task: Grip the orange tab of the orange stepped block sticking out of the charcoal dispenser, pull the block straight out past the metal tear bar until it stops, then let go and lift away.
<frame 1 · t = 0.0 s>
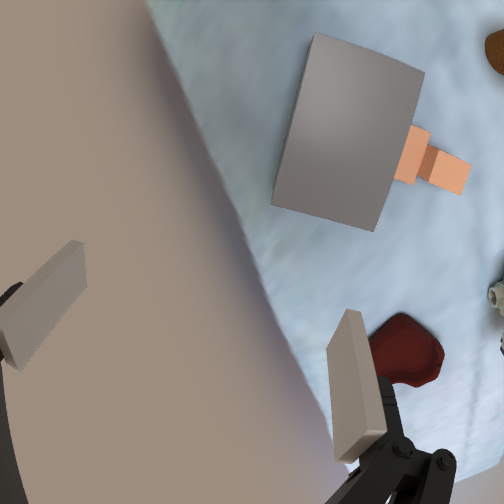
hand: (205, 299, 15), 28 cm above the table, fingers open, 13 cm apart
disposable coffee cup: (500, 53, 27), on the table
ball valve: (503, 284, 44), on the table
orange stepped block: (400, 151, 32), point 4 cm above the table, slide at 0.0 cm
dispenser: (383, 142, 36), on the table
ashtray: (394, 343, 52), on the table
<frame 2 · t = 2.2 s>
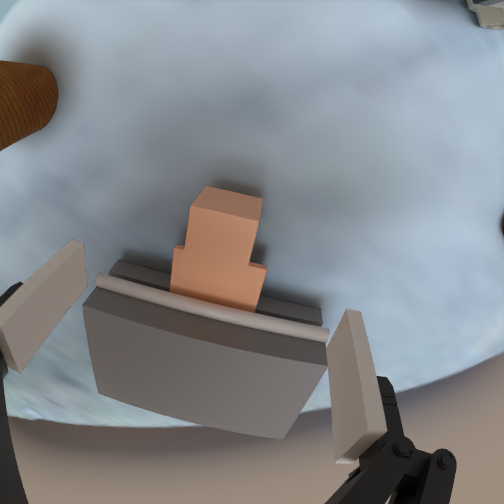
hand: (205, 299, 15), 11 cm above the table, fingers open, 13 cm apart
disposable coffee cup: (34, 98, 21), on the table
orange stepped block: (208, 309, 24), point 4 cm above the table, slide at 0.0 cm
dispenser: (217, 285, 28), on the table
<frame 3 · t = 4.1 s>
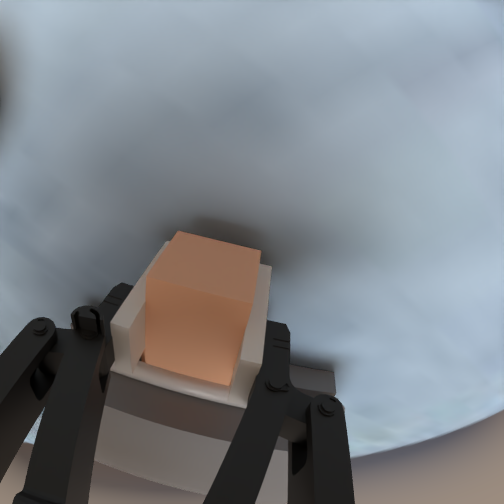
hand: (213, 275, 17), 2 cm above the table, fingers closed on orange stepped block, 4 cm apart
orange stepped block: (189, 387, 17), point 4 cm above the table, slide at 0.0 cm, touching gripper
dispenser: (203, 345, 22), on the table
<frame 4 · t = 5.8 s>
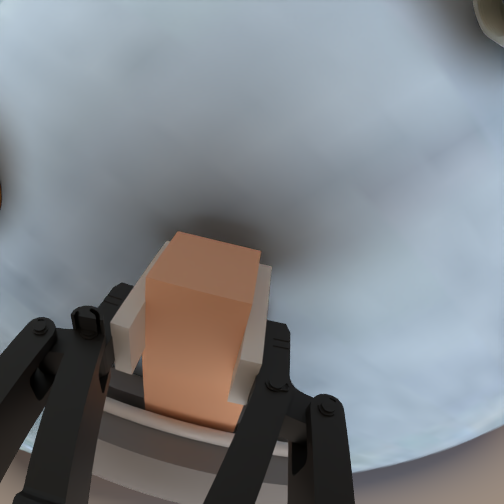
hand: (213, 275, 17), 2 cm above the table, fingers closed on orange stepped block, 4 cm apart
orange stepped block: (190, 387, 17), point 4 cm above the table, slide at 6.0 cm, touching gripper
dispenser: (196, 392, 24), on the table
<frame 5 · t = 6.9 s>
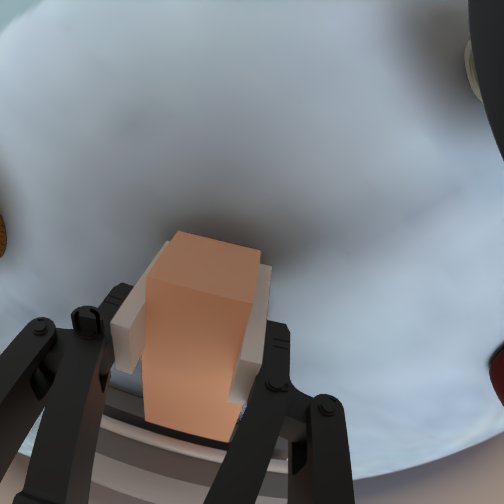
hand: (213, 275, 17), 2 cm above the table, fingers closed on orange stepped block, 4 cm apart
orange stepped block: (189, 387, 17), point 4 cm above the table, slide at 9.5 cm, touching gripper
dispenser: (192, 412, 26), on the table
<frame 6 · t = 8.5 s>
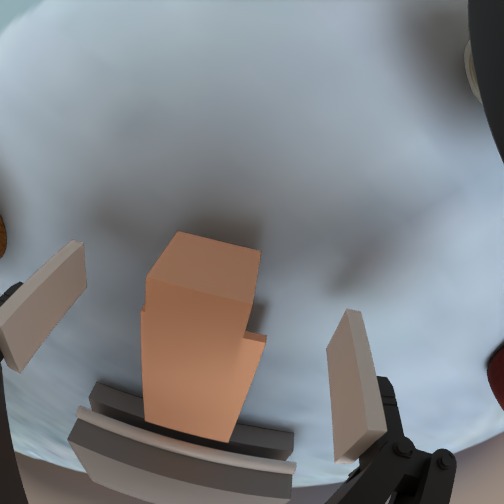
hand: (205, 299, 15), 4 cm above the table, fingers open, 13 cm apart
orange stepped block: (189, 387, 17), point 4 cm above the table, slide at 9.5 cm
dispenser: (192, 413, 26), on the table
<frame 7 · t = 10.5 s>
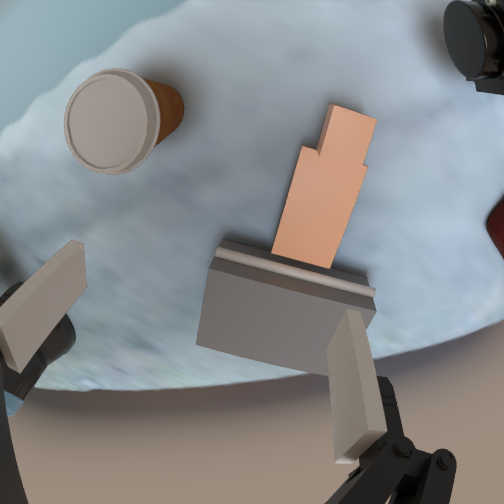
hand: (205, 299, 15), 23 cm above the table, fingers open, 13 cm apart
disposable coffee cup: (159, 110, 33), on the table
ball valve: (480, 55, 24), on the table
orange stepped block: (326, 194, 31), point 4 cm above the table, slide at 9.5 cm
dispenser: (297, 258, 40), on the table
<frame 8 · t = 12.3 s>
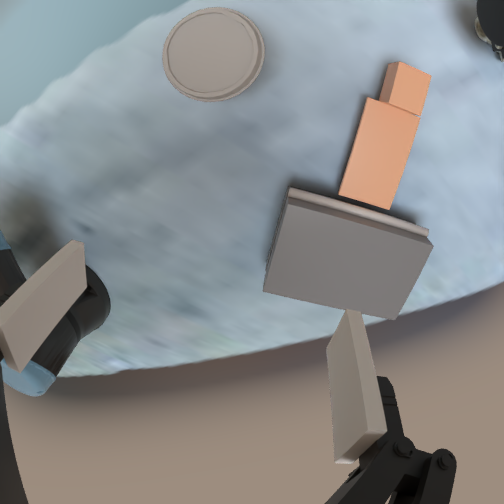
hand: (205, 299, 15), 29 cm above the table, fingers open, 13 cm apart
disposable coffee cup: (231, 63, 34), on the table
ball valve: (496, 36, 26), on the table
orange stepped block: (390, 138, 33), point 4 cm above the table, slide at 9.5 cm
dispenser: (356, 204, 41), on the table
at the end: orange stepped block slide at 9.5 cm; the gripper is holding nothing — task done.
